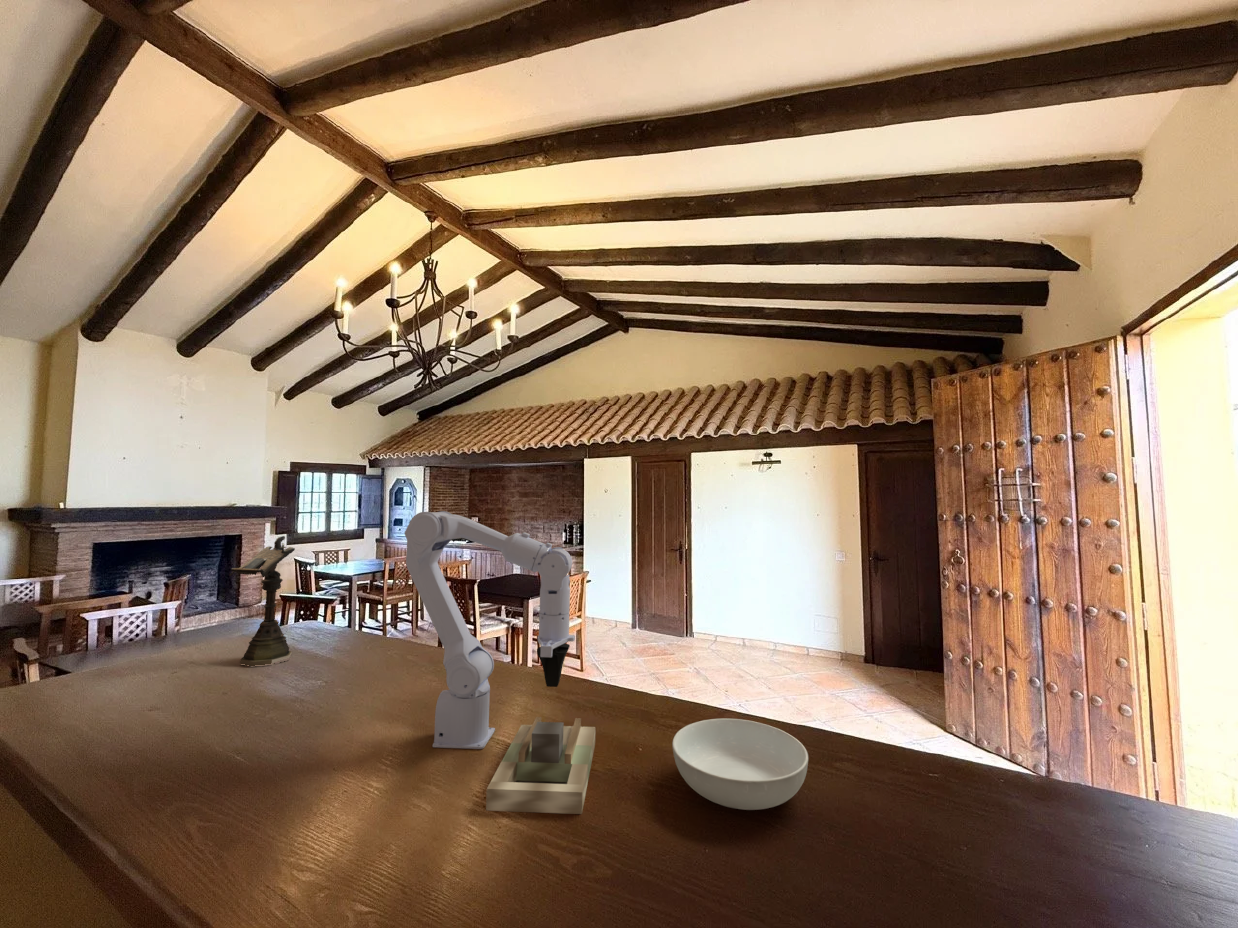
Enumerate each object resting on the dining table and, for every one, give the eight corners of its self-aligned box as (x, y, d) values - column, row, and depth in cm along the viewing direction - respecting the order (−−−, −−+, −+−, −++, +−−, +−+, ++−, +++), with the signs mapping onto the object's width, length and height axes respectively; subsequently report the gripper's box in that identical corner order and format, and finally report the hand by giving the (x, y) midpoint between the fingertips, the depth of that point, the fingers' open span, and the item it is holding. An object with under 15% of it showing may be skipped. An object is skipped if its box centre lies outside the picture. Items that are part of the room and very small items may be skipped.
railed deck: (486, 810, 74) (487, 777, 75) (521, 741, 96) (521, 716, 97) (581, 813, 74) (582, 781, 74) (595, 743, 96) (595, 718, 96)
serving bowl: (668, 756, 91) (668, 716, 92) (786, 759, 91) (785, 719, 91) (677, 829, 71) (677, 777, 71) (830, 834, 70) (829, 781, 71)
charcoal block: (531, 762, 82) (531, 733, 83) (536, 749, 87) (537, 721, 87) (558, 763, 82) (559, 734, 83) (563, 749, 87) (563, 722, 87)
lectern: (245, 675, 131) (255, 537, 133) (211, 669, 135) (221, 536, 138) (305, 657, 146) (312, 534, 149) (272, 652, 150) (280, 533, 153)
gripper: (569, 621, 90) (567, 700, 89) (580, 605, 105) (578, 673, 104) (529, 620, 91) (527, 699, 90) (546, 604, 105) (544, 672, 104)
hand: (552, 685), depth 97 cm, fingers closed
